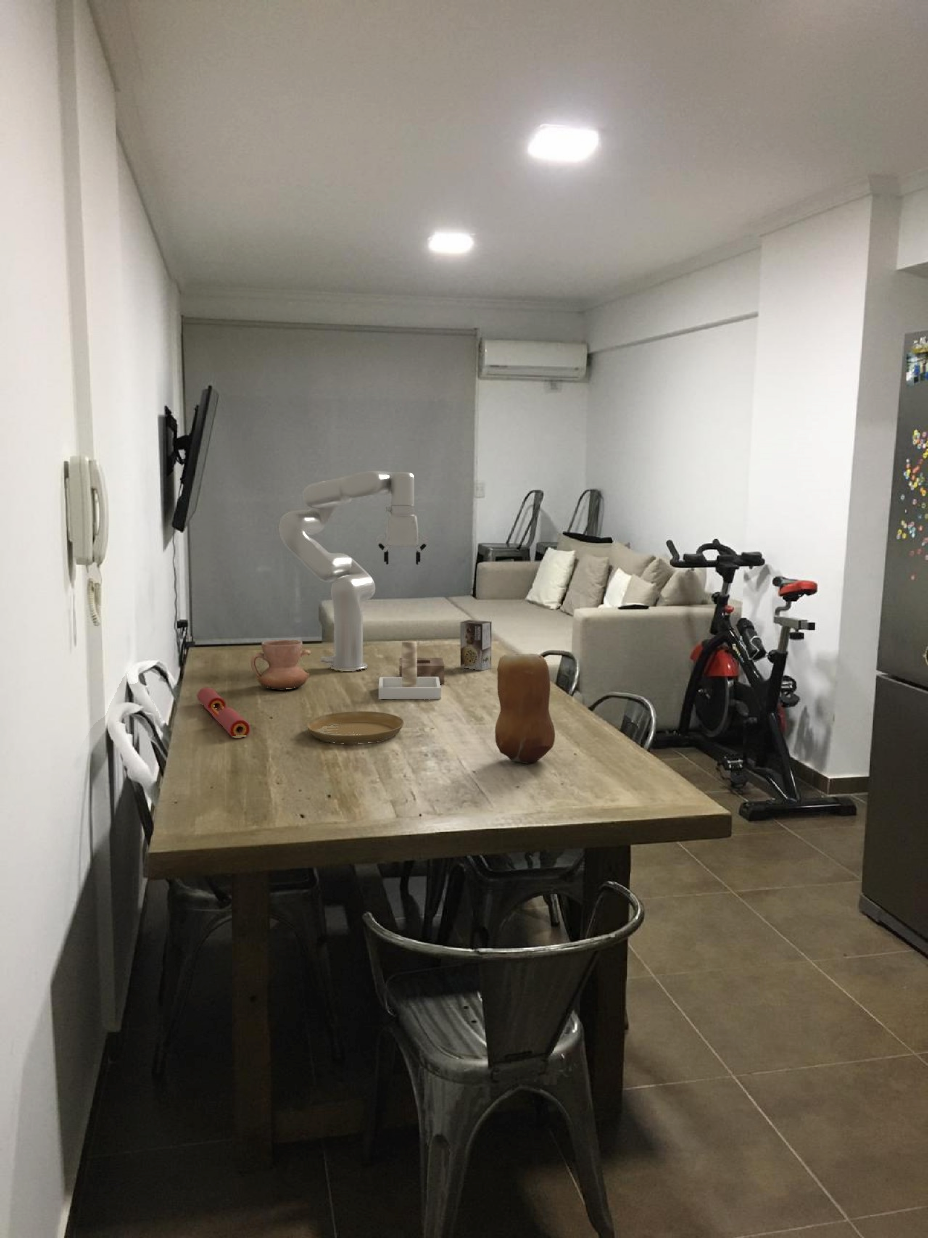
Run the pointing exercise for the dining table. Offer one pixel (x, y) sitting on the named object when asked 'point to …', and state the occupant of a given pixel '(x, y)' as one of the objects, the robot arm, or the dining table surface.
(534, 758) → the butternut squash
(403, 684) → the dowel
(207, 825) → the dining table surface
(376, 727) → the plant saucer
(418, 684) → the tray
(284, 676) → the ceramic jug
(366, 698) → the dining table surface
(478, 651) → the coffee box
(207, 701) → the blood vessel
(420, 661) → the socket block
